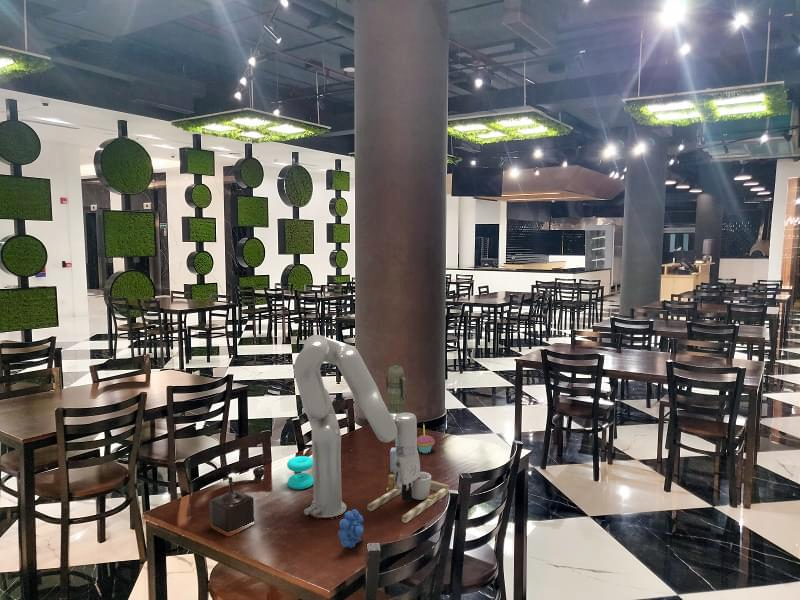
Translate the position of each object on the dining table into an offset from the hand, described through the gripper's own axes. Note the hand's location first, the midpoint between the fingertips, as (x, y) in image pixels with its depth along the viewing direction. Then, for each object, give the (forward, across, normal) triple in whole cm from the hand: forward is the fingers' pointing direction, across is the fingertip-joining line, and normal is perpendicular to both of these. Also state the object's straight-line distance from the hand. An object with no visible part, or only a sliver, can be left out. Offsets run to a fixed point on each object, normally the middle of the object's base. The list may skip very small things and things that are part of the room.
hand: (406, 499), depth 200 cm
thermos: (+2, +52, +43) cm, 67 cm away
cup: (+2, +6, 0) cm, 6 cm away
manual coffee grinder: (+2, -43, +37) cm, 57 cm away
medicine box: (+2, +23, +20) cm, 30 cm away
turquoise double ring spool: (+2, -10, +42) cm, 43 cm away
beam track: (+2, +2, +2) cm, 3 cm away
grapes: (+2, -33, -4) cm, 34 cm away
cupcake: (+2, +46, +23) cm, 51 cm away
